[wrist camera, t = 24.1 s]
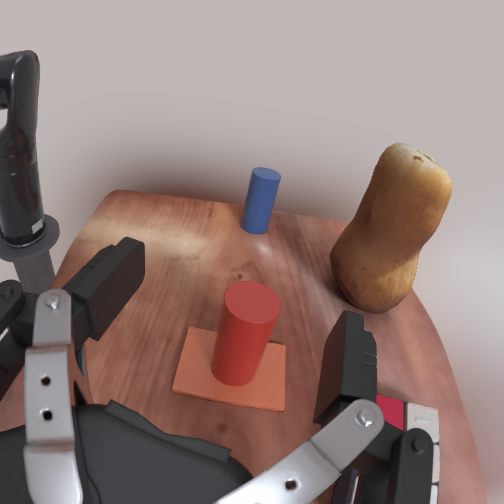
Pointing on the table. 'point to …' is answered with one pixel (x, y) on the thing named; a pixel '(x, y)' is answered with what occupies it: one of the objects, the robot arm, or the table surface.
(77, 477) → the robot arm
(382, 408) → the calculator
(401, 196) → the butternut squash
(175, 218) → the table surface
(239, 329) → the red tin
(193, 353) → the orange pad
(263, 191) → the blue tin
